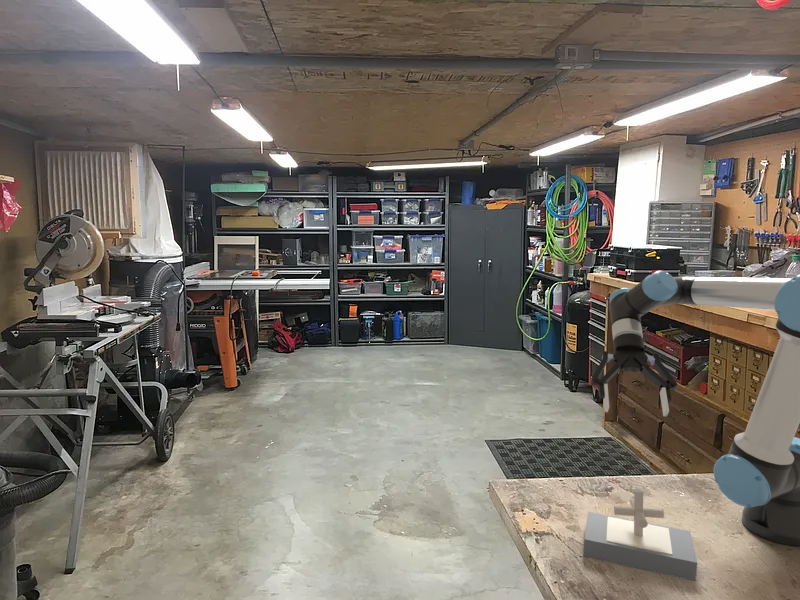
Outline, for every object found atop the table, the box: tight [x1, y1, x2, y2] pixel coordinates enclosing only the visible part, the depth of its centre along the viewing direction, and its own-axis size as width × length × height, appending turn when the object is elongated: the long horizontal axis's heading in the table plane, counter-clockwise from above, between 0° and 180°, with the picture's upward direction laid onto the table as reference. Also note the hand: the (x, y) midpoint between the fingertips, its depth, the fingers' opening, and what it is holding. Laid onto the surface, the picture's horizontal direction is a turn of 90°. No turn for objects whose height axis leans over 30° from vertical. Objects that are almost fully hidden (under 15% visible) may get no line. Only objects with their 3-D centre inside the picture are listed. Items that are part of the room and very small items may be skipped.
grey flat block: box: [582, 511, 698, 582], centre depth 123 cm, size 22×13×4 cm, turn 68°
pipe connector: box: [613, 488, 665, 536], centre depth 123 cm, size 10×10×10 cm
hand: (636, 411), depth 135 cm, fingers open, 13 cm apart
